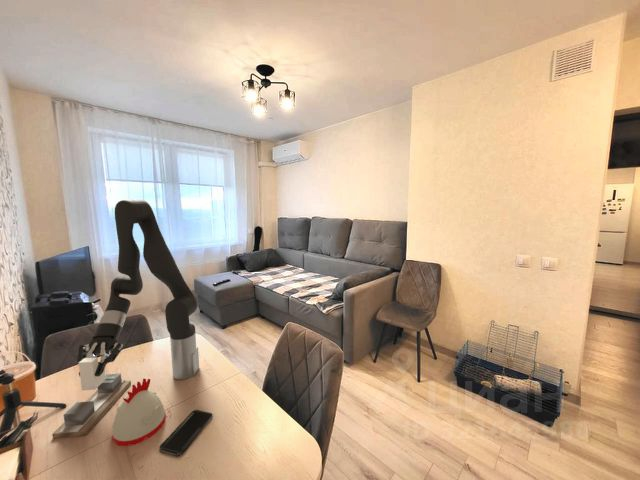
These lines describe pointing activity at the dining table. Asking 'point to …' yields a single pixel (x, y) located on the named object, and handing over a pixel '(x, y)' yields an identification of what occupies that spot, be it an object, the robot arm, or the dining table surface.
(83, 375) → the block
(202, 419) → the phone
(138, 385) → the kitchen timer
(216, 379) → the dining table surface
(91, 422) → the rail plate
